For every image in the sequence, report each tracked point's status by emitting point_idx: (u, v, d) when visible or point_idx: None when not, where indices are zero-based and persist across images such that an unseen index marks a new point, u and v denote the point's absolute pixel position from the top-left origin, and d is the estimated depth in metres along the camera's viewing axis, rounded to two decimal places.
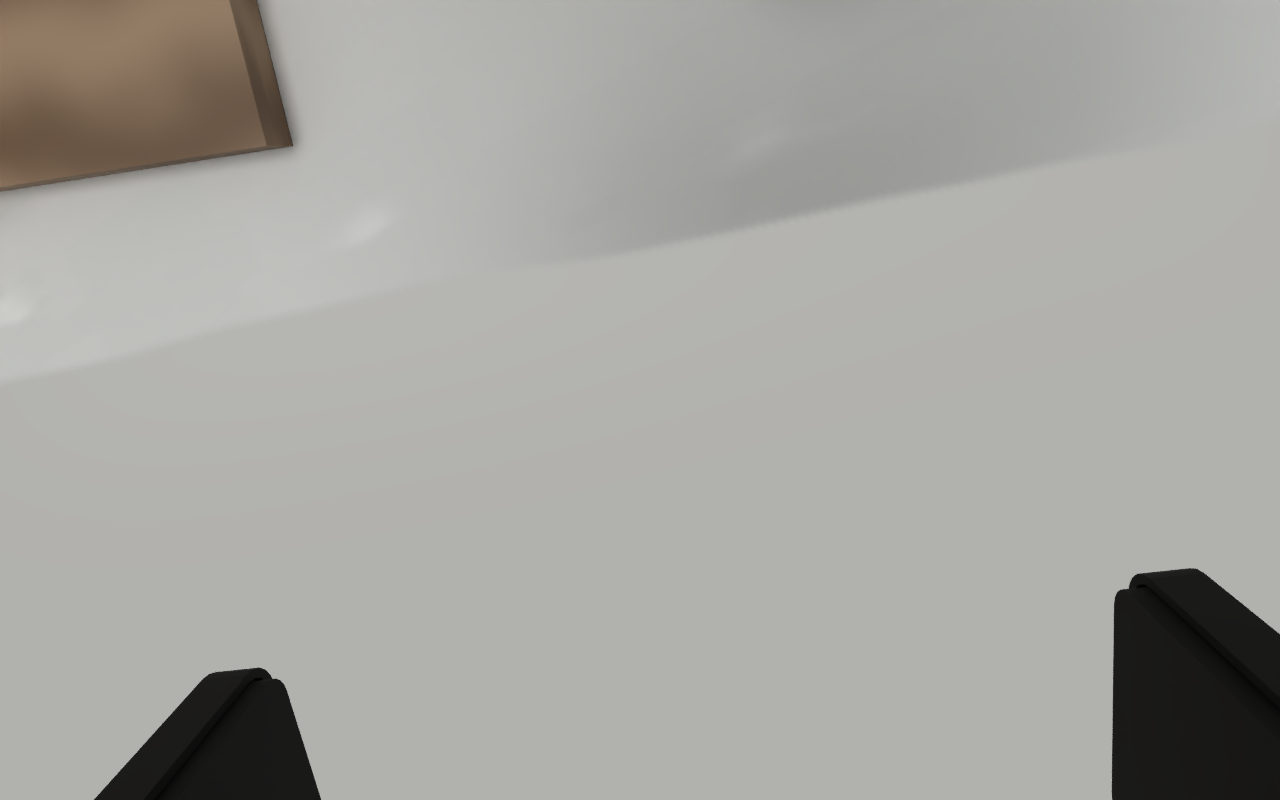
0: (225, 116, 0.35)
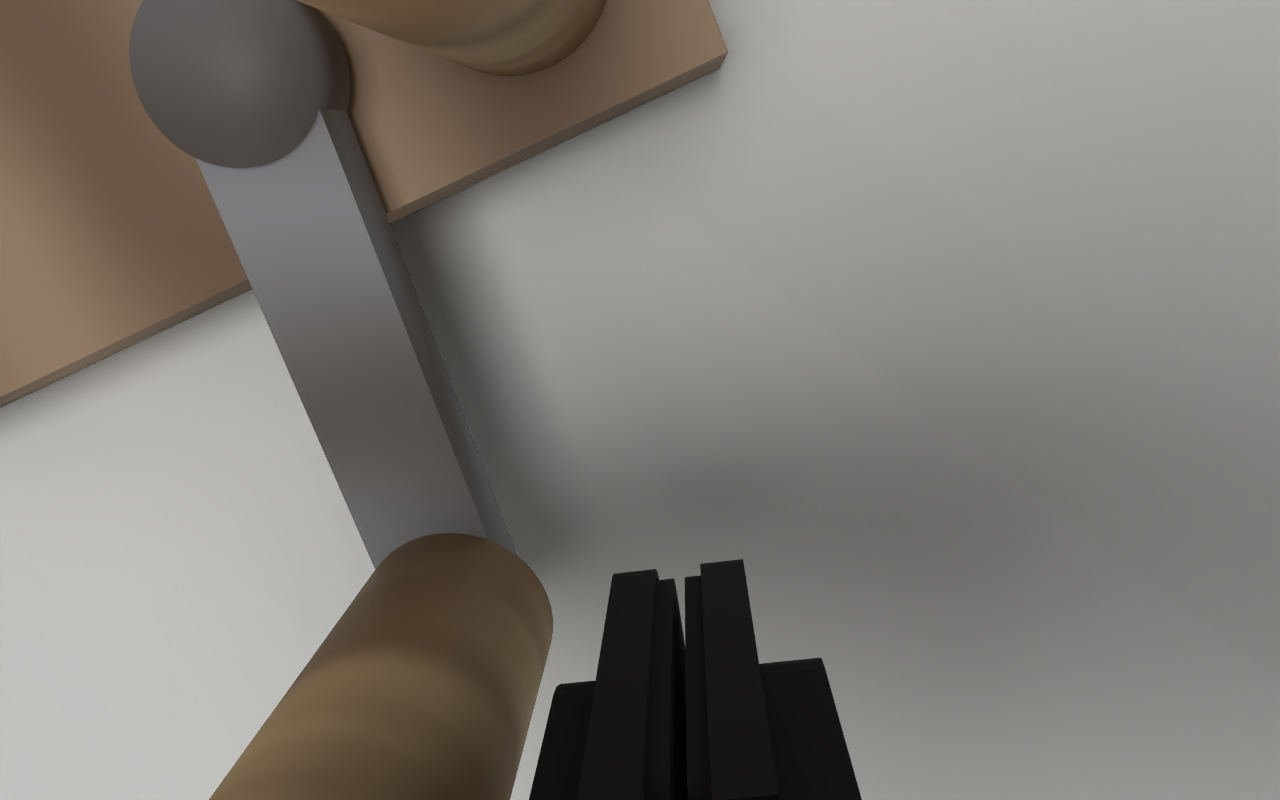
0: None
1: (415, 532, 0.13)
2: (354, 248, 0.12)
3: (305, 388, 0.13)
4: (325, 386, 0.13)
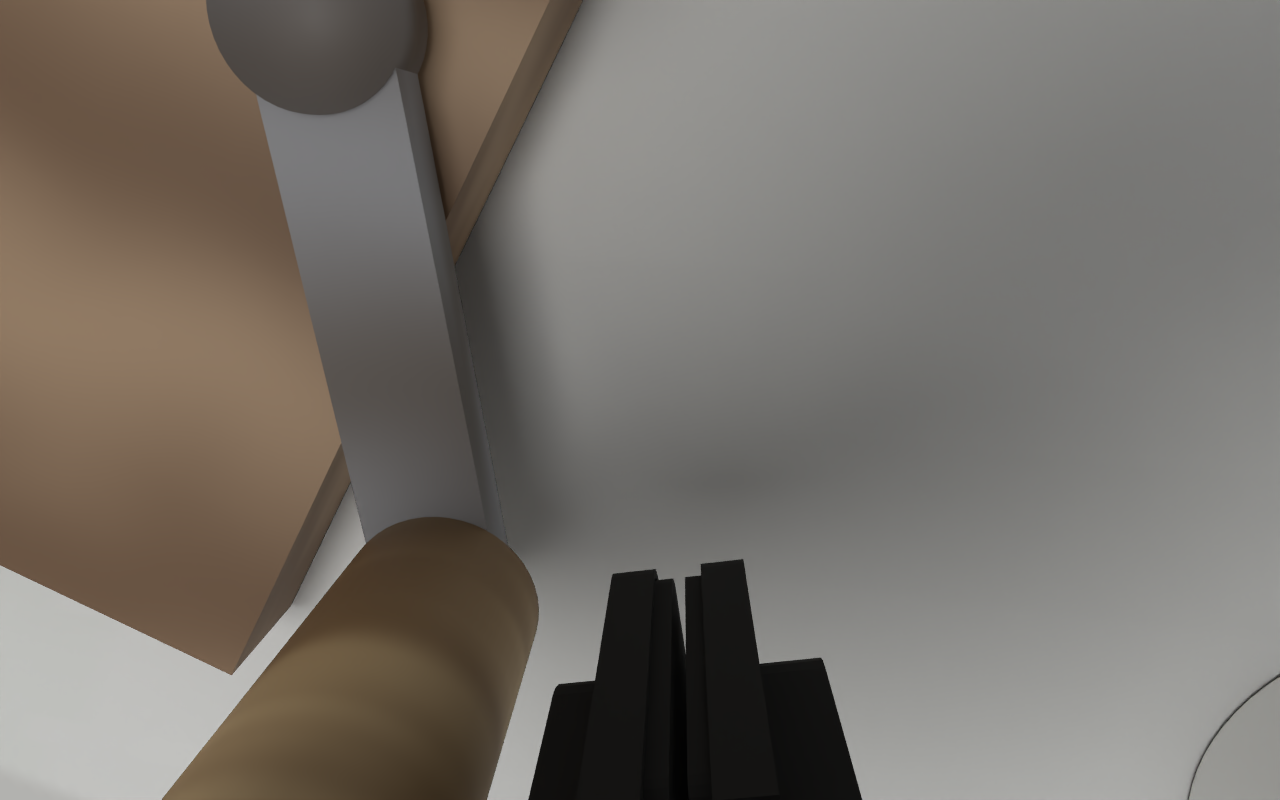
0: (185, 582, 0.15)
1: (414, 512, 0.13)
2: (406, 216, 0.12)
3: (328, 349, 0.12)
4: (348, 350, 0.12)
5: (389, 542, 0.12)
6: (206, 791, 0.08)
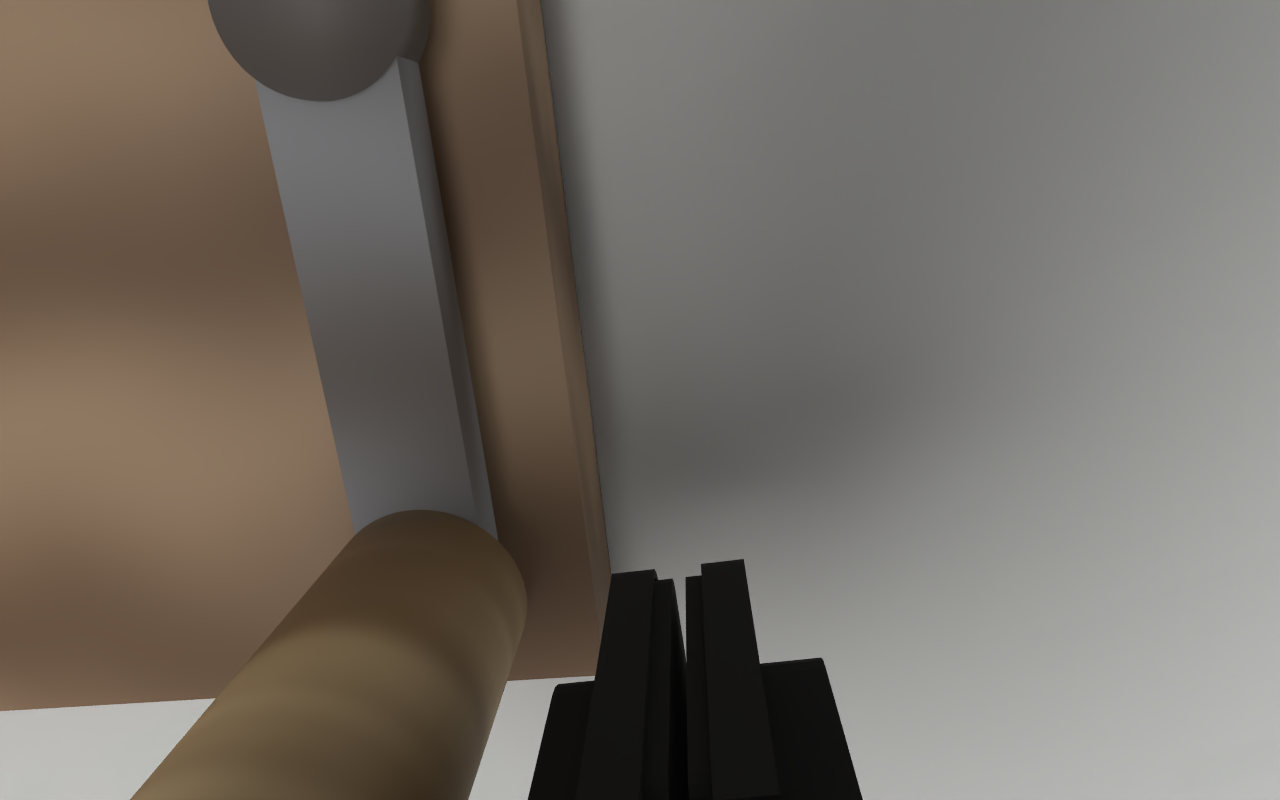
0: None
1: (404, 504, 0.13)
2: (402, 206, 0.12)
3: (320, 338, 0.12)
4: (342, 339, 0.12)
5: (378, 534, 0.12)
6: (184, 782, 0.07)
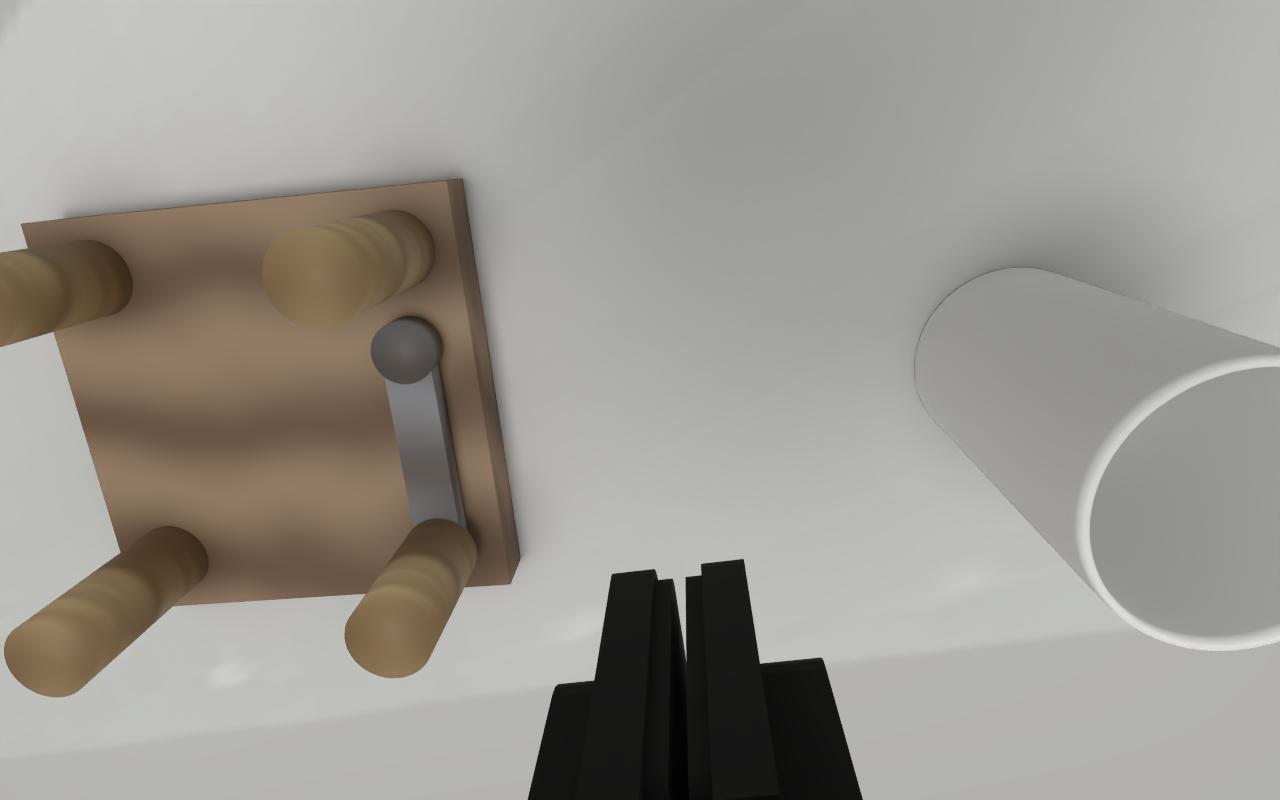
0: None
1: (432, 516, 0.36)
2: (432, 415, 0.34)
3: (403, 458, 0.35)
4: (410, 458, 0.35)
5: (423, 527, 0.35)
6: (382, 587, 0.30)
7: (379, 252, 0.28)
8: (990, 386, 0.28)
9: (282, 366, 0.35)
